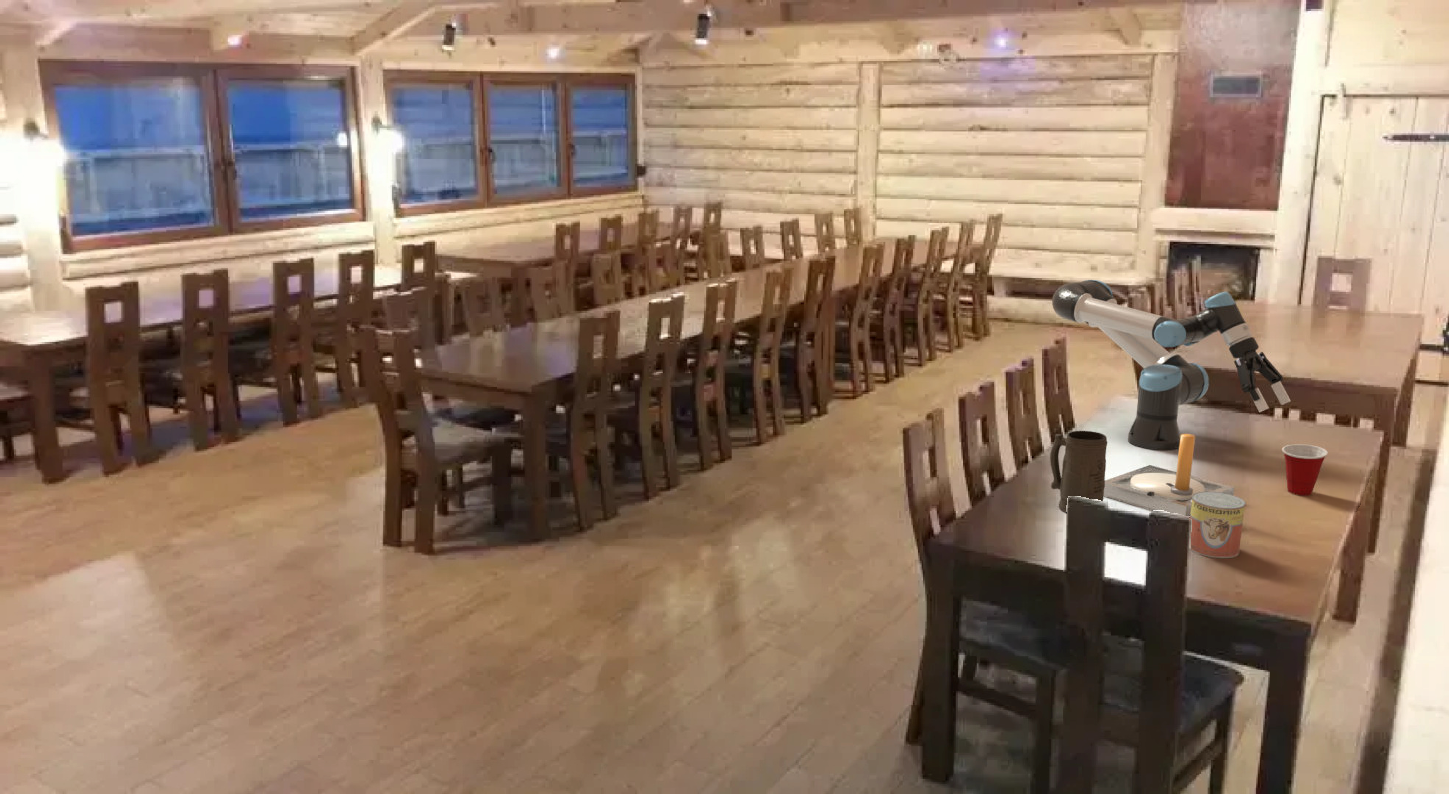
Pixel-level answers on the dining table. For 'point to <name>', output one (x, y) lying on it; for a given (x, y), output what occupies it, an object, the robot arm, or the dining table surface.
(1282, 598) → the dining table surface
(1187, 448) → the dial
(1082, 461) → the beer stein
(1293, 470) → the plastic cup
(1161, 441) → the robot arm
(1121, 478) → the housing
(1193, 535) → the canned food
